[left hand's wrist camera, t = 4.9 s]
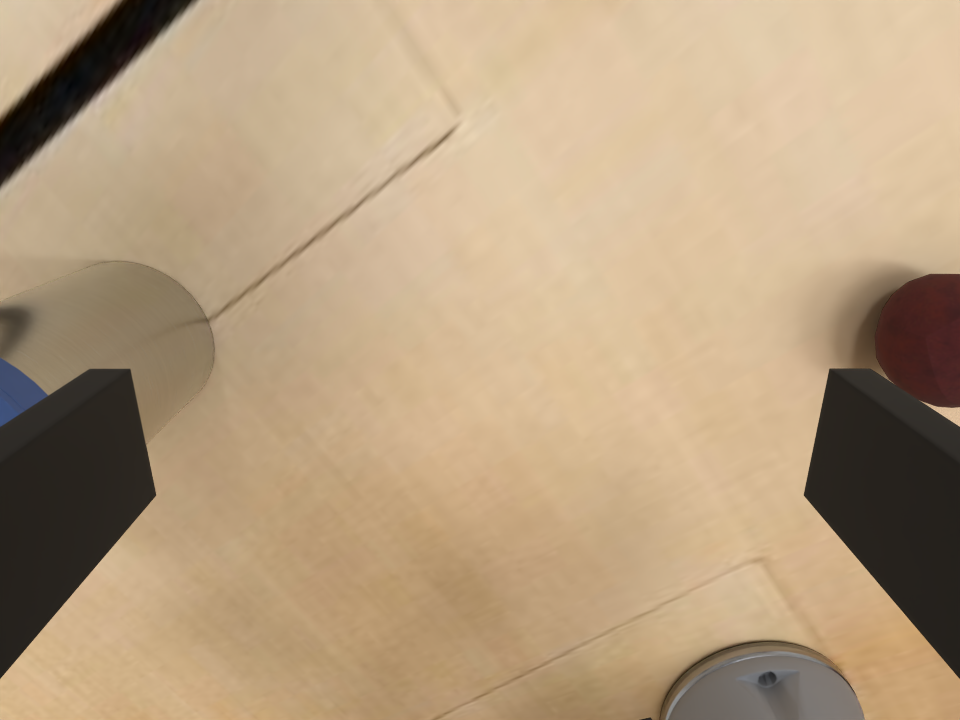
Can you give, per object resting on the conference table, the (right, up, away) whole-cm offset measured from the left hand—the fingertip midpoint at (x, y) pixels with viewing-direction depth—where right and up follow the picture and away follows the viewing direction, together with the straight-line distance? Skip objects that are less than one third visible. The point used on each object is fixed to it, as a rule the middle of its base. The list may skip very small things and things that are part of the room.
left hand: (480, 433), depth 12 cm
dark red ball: (+27, +4, +28) cm, 39 cm away
